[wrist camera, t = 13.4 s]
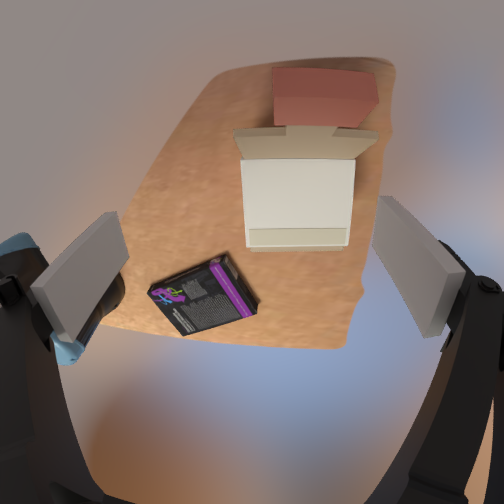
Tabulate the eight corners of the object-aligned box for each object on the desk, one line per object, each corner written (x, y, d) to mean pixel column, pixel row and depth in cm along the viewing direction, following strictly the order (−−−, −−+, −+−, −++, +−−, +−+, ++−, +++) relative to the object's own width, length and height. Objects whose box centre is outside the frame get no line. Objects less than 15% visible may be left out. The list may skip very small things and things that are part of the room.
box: (226, 251, 55) (149, 284, 60) (224, 260, 52) (144, 294, 57) (258, 303, 61) (184, 328, 66) (258, 314, 58) (181, 338, 63)
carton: (252, 218, 50) (246, 253, 40) (247, 144, 44) (240, 160, 33) (331, 217, 49) (347, 252, 39) (335, 144, 42) (355, 160, 32)
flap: (209, 100, 14) (210, 71, 14) (244, 164, 32) (243, 147, 32) (429, 110, 13) (423, 82, 13) (353, 164, 31) (352, 148, 31)
